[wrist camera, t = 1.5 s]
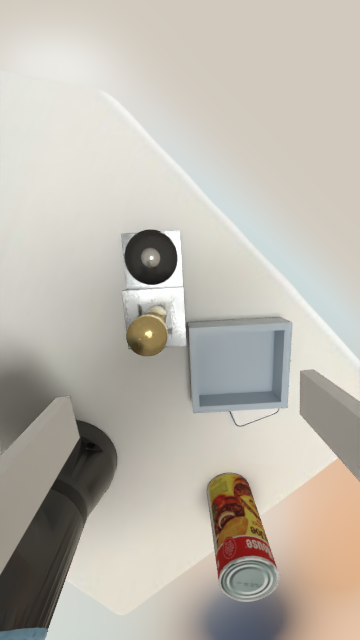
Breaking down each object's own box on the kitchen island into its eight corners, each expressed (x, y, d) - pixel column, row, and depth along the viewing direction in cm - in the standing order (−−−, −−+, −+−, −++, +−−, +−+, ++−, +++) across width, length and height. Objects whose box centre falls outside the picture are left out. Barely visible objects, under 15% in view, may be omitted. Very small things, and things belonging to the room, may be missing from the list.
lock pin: (143, 330, 32) (128, 357, 22) (141, 303, 31) (124, 318, 21) (171, 328, 32) (168, 355, 22) (169, 301, 31) (165, 315, 21)
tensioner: (185, 341, 34) (186, 349, 30) (133, 344, 34) (128, 352, 30) (179, 231, 30) (180, 226, 27) (122, 234, 30) (115, 229, 27)
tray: (191, 399, 36) (193, 413, 32) (187, 322, 33) (189, 328, 30) (276, 394, 36) (287, 407, 32) (280, 317, 33) (292, 322, 30)
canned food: (256, 496, 40) (289, 588, 29) (218, 513, 41) (235, 609, 29) (238, 465, 39) (264, 549, 27) (199, 483, 40) (208, 572, 28)
